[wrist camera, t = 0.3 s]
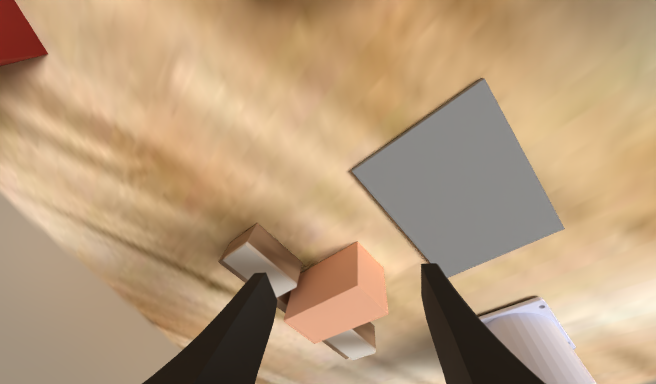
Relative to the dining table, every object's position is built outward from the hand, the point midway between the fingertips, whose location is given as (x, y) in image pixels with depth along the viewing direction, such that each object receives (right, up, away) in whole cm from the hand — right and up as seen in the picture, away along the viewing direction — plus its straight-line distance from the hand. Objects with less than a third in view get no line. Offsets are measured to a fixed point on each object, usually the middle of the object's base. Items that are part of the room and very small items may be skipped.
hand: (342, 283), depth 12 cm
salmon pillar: (0, -4, +14) cm, 14 cm away
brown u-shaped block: (-3, -6, +15) cm, 16 cm away
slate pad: (+9, +4, +8) cm, 13 cm away
